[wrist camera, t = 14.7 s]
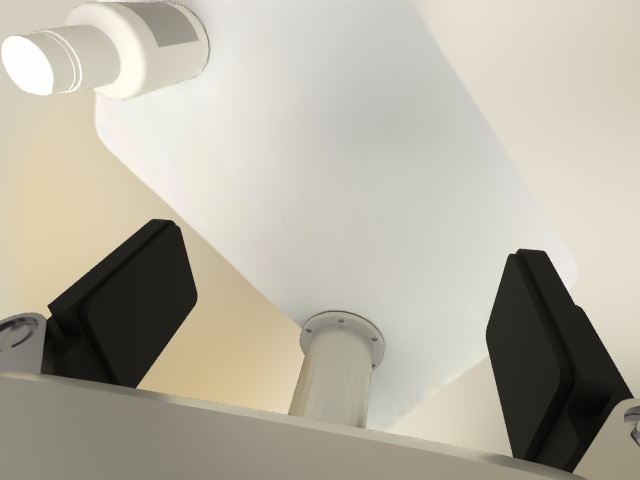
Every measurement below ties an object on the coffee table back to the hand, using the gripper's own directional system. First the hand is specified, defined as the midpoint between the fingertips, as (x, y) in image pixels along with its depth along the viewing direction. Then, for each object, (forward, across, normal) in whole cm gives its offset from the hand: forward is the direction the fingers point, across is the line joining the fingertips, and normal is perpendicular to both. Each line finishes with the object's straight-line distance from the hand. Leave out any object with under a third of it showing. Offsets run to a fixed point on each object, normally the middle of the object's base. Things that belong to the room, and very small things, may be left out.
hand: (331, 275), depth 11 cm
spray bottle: (+31, +21, -4) cm, 37 cm away
